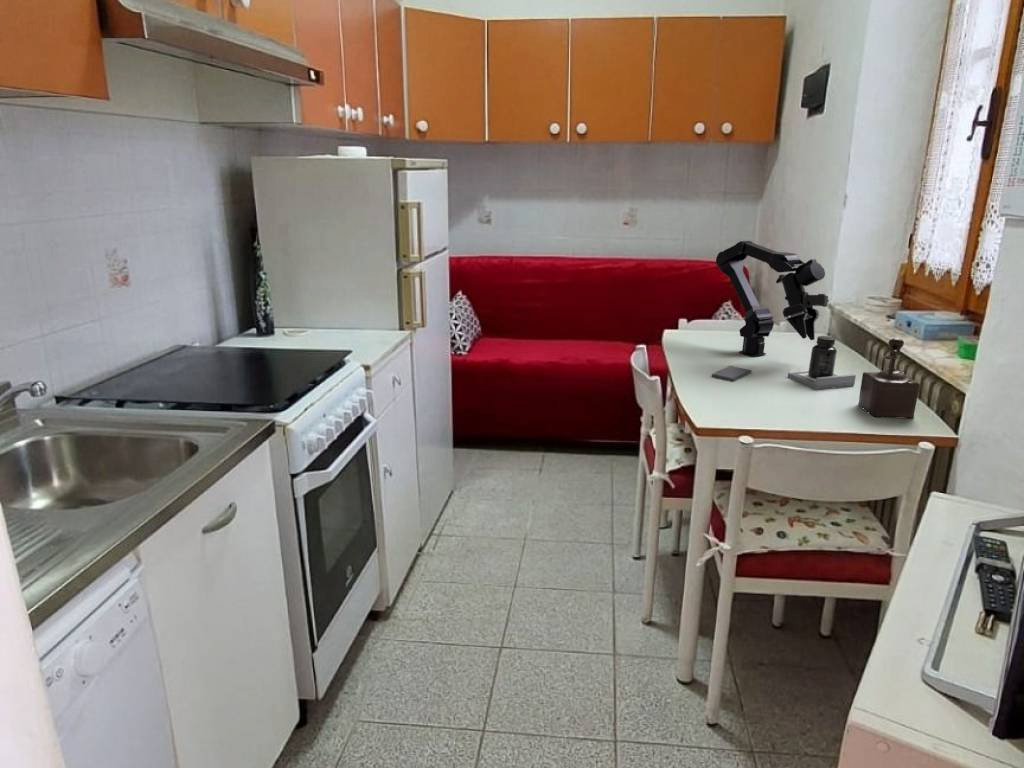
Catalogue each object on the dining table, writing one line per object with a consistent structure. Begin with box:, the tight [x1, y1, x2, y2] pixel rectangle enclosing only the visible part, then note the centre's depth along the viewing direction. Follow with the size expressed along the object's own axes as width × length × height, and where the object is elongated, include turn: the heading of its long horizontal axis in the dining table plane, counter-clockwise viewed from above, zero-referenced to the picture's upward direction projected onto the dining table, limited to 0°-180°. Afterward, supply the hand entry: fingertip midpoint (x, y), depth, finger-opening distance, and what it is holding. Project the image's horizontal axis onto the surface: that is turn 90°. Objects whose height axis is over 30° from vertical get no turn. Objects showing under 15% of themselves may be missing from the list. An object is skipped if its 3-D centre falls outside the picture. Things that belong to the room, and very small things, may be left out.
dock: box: [787, 370, 857, 390], centre depth 210 cm, size 13×13×3 cm
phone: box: [711, 365, 753, 382], centre depth 216 cm, size 7×13×1 cm, turn 139°
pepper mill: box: [858, 337, 920, 419], centre depth 185 cm, size 16×11×18 cm
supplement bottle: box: [808, 335, 838, 379], centre depth 209 cm, size 7×7×12 cm
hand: (808, 339), depth 218 cm, fingers open, 9 cm apart
